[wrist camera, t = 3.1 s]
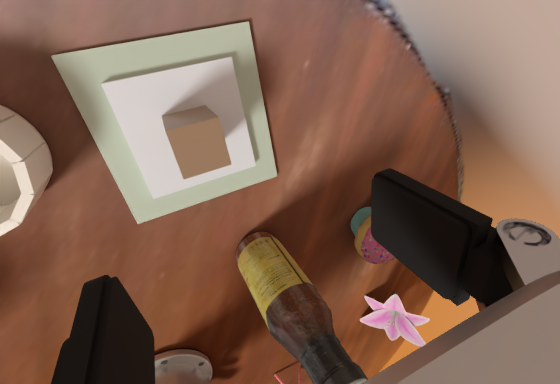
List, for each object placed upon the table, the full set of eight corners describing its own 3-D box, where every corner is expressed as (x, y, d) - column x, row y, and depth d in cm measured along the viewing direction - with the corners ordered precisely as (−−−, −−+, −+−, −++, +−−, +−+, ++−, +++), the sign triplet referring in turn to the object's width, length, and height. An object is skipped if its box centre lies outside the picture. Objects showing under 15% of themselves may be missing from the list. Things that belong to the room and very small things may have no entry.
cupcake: (381, 186, 42) (454, 227, 32) (387, 227, 47) (452, 274, 37) (334, 213, 40) (395, 265, 30) (344, 253, 45) (400, 309, 35)
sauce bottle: (226, 265, 36) (292, 437, 20) (245, 224, 35) (332, 374, 19) (268, 270, 40) (354, 421, 24) (287, 233, 38) (392, 367, 22)
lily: (379, 263, 52) (390, 310, 44) (432, 283, 53) (453, 332, 46) (345, 297, 58) (351, 344, 51) (394, 314, 60) (406, 362, 52)
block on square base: (229, 56, 26) (252, 57, 20) (253, 163, 32) (276, 187, 26) (102, 82, 23) (87, 92, 17) (153, 195, 29) (155, 230, 23)
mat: (247, 21, 26) (248, 21, 26) (276, 174, 34) (277, 176, 33) (52, 55, 21) (50, 55, 21) (137, 222, 29) (137, 224, 29)
